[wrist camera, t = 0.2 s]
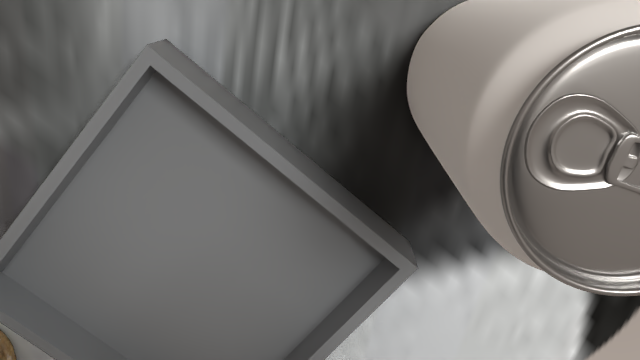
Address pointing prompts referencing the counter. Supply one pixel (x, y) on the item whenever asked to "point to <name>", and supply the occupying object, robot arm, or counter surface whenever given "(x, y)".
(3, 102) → the counter surface
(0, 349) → the sprinkles bottle
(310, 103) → the counter surface
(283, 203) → the tray
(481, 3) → the can
